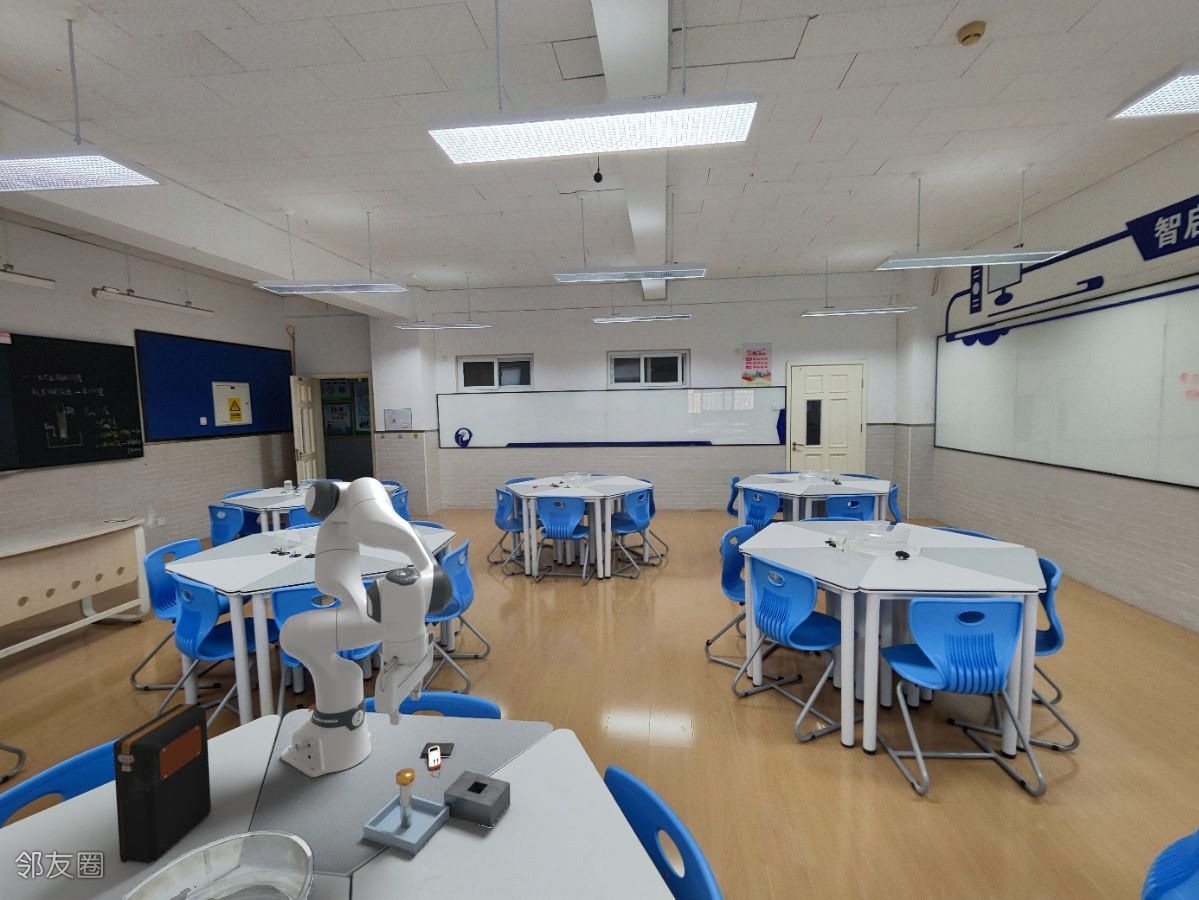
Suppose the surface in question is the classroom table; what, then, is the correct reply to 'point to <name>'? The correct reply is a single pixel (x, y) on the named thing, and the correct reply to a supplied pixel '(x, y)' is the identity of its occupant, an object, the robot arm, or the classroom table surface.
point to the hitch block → (477, 798)
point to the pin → (405, 795)
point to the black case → (161, 782)
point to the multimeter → (436, 753)
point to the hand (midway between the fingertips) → (406, 710)
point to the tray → (409, 839)
